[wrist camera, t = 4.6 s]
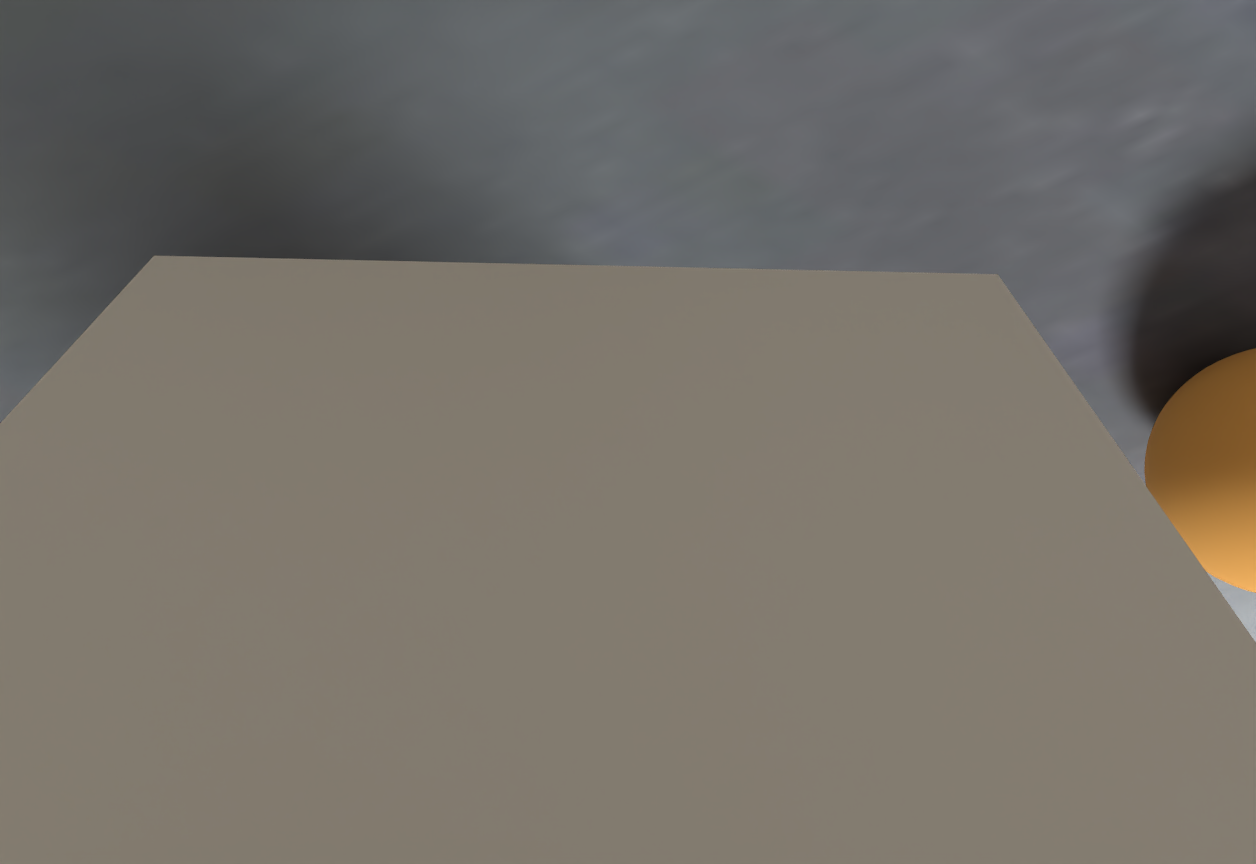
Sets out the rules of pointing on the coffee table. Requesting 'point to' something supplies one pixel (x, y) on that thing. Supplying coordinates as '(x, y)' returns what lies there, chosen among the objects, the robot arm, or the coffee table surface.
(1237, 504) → the ball
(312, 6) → the coffee table surface
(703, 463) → the cream cuboid
